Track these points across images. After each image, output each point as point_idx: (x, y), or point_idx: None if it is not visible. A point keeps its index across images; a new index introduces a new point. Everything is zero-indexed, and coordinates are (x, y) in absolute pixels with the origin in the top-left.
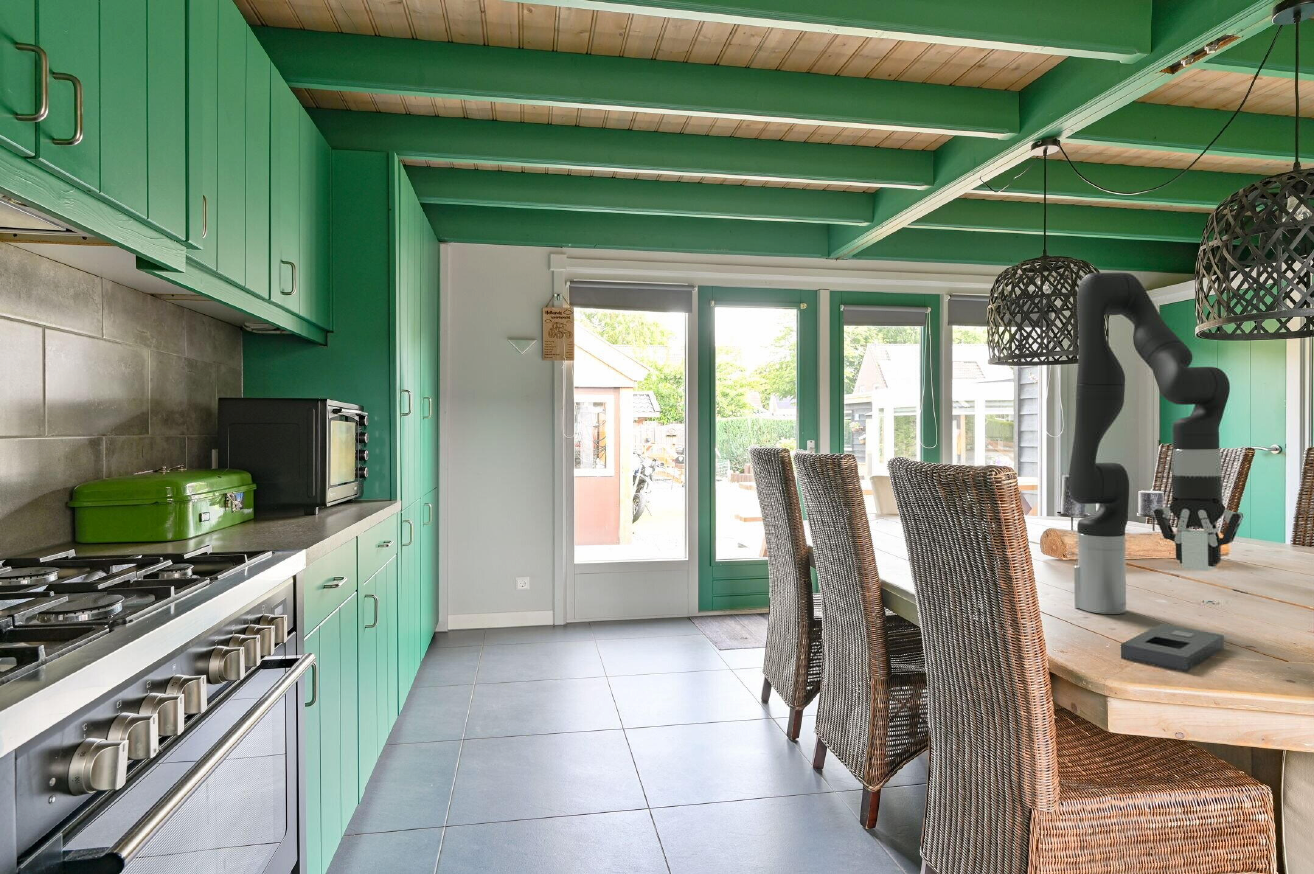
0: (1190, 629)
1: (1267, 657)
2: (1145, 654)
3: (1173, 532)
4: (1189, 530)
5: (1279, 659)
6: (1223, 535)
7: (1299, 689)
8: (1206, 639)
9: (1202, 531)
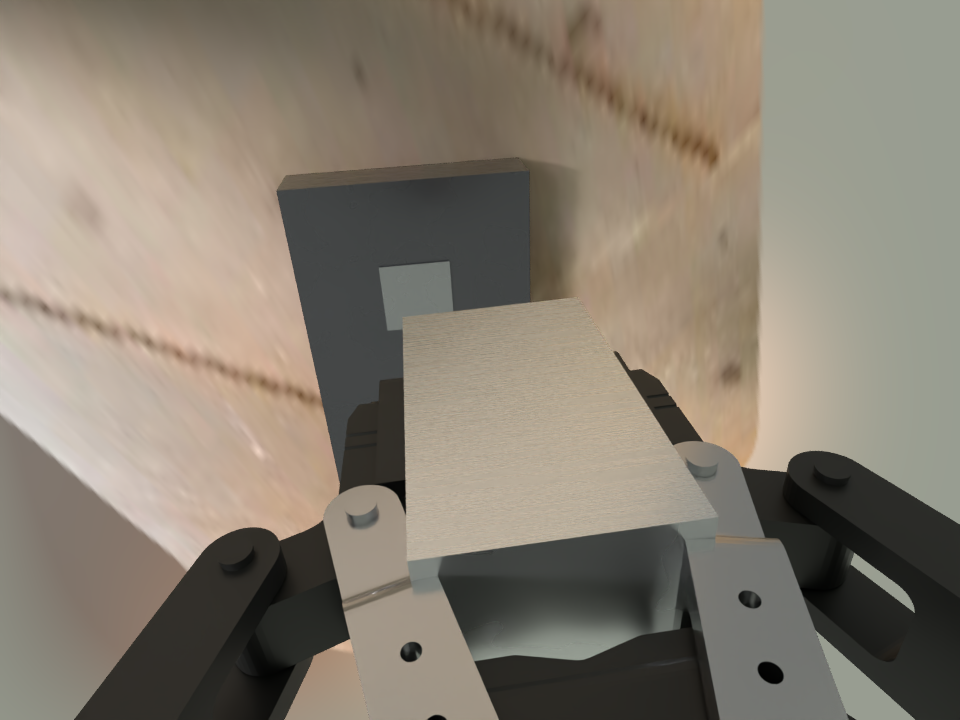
0: (403, 188)
1: (658, 160)
2: None
3: (263, 590)
4: (475, 648)
5: (693, 154)
6: (817, 630)
7: (750, 423)
8: (505, 300)
9: (616, 628)
